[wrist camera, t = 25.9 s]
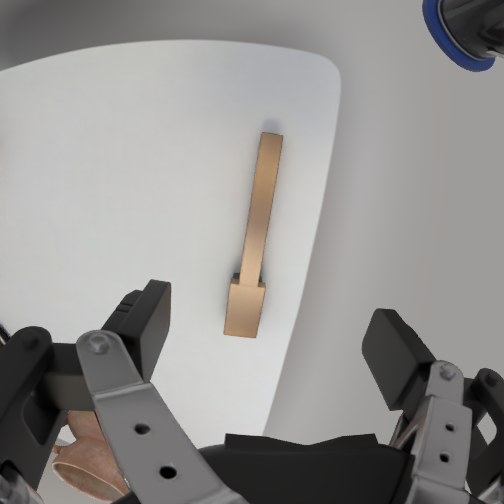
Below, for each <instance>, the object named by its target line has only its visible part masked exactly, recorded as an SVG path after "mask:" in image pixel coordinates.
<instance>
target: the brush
mask: <svg viewBox="0 0 504 504" xmlns="http://www.w3.org/2000/svg"><path fill="white" fill-rule="evenodd" d="M282 141H283V135H277V134H271V133H265V132H262V134H261V139H260V145H259V151H258V157H257V164H256V170H255V177H254V183H253V189H252V196H251V202H250V209H249V215H248V222H247V229H246V235H245V242H244V248H243V255H242V262H241V268H240V274H233V279H232V278H231V281H230V288H229V296H228V303H227V311H226V318H225V326H224V335H231V336H239V337H248V338H256V336H257V331H258V325H259V320H260V315H261V310H262V305H263V300H264V294H265V289H266V287H265V283H262V277H260V271H261V265H262V259H263V254H264V248H265V242H266V236H267V231H268V225H269V219H270V213H271V207H272V201H273V195H274V189H275V183H276V177H277V171H278V165H279V159H280V153H281V147H282Z"/></svg>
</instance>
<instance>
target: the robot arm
mask: <svg viewBox="0 0 504 504" xmlns="http://www.w3.org/2000/svg"><path fill="white" fill-rule="evenodd" d="M436 14H437V18H438V21H439V24H440V26H441V28H442V30H443V31H444V33H445V35H446V36H447V38H448V39H449V40H450V42H451V43H452V44H453V45H454V46H455V47H456V48H457V49H458V50H459V51H460V52H461V53H462V54H463V55H465V56H466V57H468V58H470V59H472V60H475V61H484V60H487V59H489V58H492V57H496V56H498V57H501V58H504V0H438V1H437V3H436ZM170 313H171V283H170V282H165V281H159V280H153V279H151V280H150V281H149V283H148V284H147V286H146V287H145V288H144V290H143V291H140V290H134V291H133V292H131V293H129V294H127V295H126V296H125V297H124V298H123V300H122V301H121V302H120V304H119V305H118V306H117V308H116V310H114V312H113V313H112V314H111V316H110V317H109V318H108V320H107V321H106V323H105V324H104V325H103V327H102V328H101V330H93V331H89V332H87V333H84V334H83V335H81V336H80V337H79V338H78V340H77V342H76V344H68V343H53V342H52V338H51V335H50V333H49V332H48V331H47V330H46V329H44V328H42V327H37V326H30V327H25V328H22V329H20V330H18V331H17V332H16V333H15V334H14V335H13V336H12V337H11V338H10V339H9V340H8V341H7V343H6V344H5V345H4V346H3V347H2V348H1V350H0V504H44V502H43V500H42V498H41V497H40V495H39V494H38V493H37V492H36V491H37V488H38V485H39V482H40V479H41V477H42V474H43V471H44V469H45V466H46V463H47V461H48V458H49V456H50V453H51V451H52V449H53V446H54V444H55V441H56V439H57V437H58V434H59V432H60V430H61V427H62V425H63V423H64V421H65V419H66V416H67V414H68V412H69V410H72V411H92V412H94V414H95V417H96V419H97V422H98V425H99V427H100V430H101V432H102V435H103V437H104V439H105V442H106V444H107V446H108V449H109V451H110V453H111V455H112V457H113V460H114V462H115V464H116V466H117V468H118V471H119V473H120V475H121V477H122V479H123V481H124V482H125V484H126V486H127V488H128V490H129V493H127V494H126V495H124V496H122V497H121V498H119V499H117V500H116V501H114V502H112V503H111V504H504V380H503V378H502V377H501V376H500V375H499V374H498V373H497V372H495V371H493V370H491V369H487V368H483V369H480V371H479V372H478V374H477V376H476V377H475V378H474V379H470V378H464V377H463V374H462V372H461V370H460V369H459V368H458V367H457V366H455V365H454V364H452V363H450V362H447V361H444V360H438V361H437V360H436V358H435V357H434V356H433V354H432V353H431V352H430V351H429V349H428V348H427V347H426V345H425V344H424V343H423V342H422V340H421V339H420V338H419V337H418V335H417V334H416V332H415V331H414V330H413V329H412V328H411V327H410V326H408V325H407V324H406V323H405V322H404V321H403V320H402V318H401V317H400V316H399V314H398V313H397V312H396V311H395V310H392V309H380V308H379V309H376V310H375V311H374V313H373V316H372V318H371V321H370V324H369V326H368V329H367V331H366V334H365V337H364V339H363V342H362V354H363V356H364V358H365V360H366V362H367V364H368V366H369V368H370V370H371V372H372V374H373V377H374V379H375V380H376V383H377V385H378V387H379V389H380V391H381V393H382V395H383V398H384V400H385V402H386V404H387V406H388V408H389V410H390V411H394V410H403V413H402V414H401V416H400V417H399V420H398V422H397V425H396V428H395V431H394V433H393V436H392V438H391V441H390V443H389V445H384V444H378V441H377V439H376V436H375V434H374V433H373V434H364V435H353V436H342V437H338V438H335V439H331V440H328V441H324V442H320V443H316V444H312V445H301V444H296V443H292V442H287V441H282V440H278V439H274V438H270V437H264V436H249V435H237V434H227V433H226V435H225V441H224V444H220V445H213V446H208V447H204V448H200V449H196V447H195V446H194V445H193V443H192V442H191V441H190V439H189V438H188V436H187V435H186V434H185V432H184V431H183V429H182V428H181V426H180V425H179V424H178V422H177V421H176V419H175V418H174V416H173V415H172V413H171V412H170V410H169V409H168V407H167V405H166V404H165V402H164V401H163V399H162V398H161V396H160V394H159V393H158V391H157V390H156V388H155V386H154V385H153V384H152V383H151V382H150V379H151V376H152V374H153V371H154V368H155V366H156V363H157V360H158V358H159V355H160V353H161V350H162V348H163V345H164V342H165V340H166V337H167V335H168V331H169V326H170ZM487 412H488V414H489V415H490V417H491V418H492V420H493V422H494V423H495V425H496V428H497V433H496V436H495V438H494V439H493V440H492V442H491V443H490V444H489V445H487V443H486V441H485V439H484V437H483V436H482V434H481V432H480V430H479V429H478V427H477V424H478V423H479V422H480V421H481V419H482V418H483V417H484V415H485V414H486V413H487ZM465 480H466V481H467V483H468V486H469V488H470V491H471V493H472V494H470V493H468V491H466V490H465Z"/></svg>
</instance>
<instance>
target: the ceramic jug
mask: <svg viewBox="0 0 504 504" xmlns="http://www.w3.org/2000/svg"><path fill="white" fill-rule="evenodd" d="M67 424H68V425H69V428H70V430H71V432H72V434H73V435H74V437H75V438H76V441H75V442H73V443H72V444H70V445H69V446H57V445H54V446H53V449H52V452H54V453H57V454H58V456H57V457H56V458H55V460H54V461H53V462H52V465H51V468H52V470H53V471H54V473H55V474H56V475H57V476H58V477H59V478H60V479H61V480H63V481H64V482H65V483H66V484H68V485H69V486H71V487H73V488H74V489H76V490H77V491H79V492H82V493H83V494H85V495H87V496H90V497H92V498H95V499H98V500H101V501H104V502H109V503H112V502H114V501H116V500H117V499H119V498H121V497H122V496H124V495H126V494H127V493H129V490H128V488H127V486H126V484H125V482H124V481H123V479H122V477H121V475H120V473H119V471H118V468H117V466H116V464H115V462H114V460H113V457H112V455H111V453H110V451H109V449H108V446H107V444H106V442H105V439H104V437H103V435H102V432H101V430H100V427H99V425H98V422H97V419H96V417H95V414H94V412H92V411H72V410H70V412H69V413H68V414H67V416H66V419H65V421H64V423H63V425H62V427H63V426H65V425H67ZM62 427H61V428H62Z"/></svg>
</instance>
